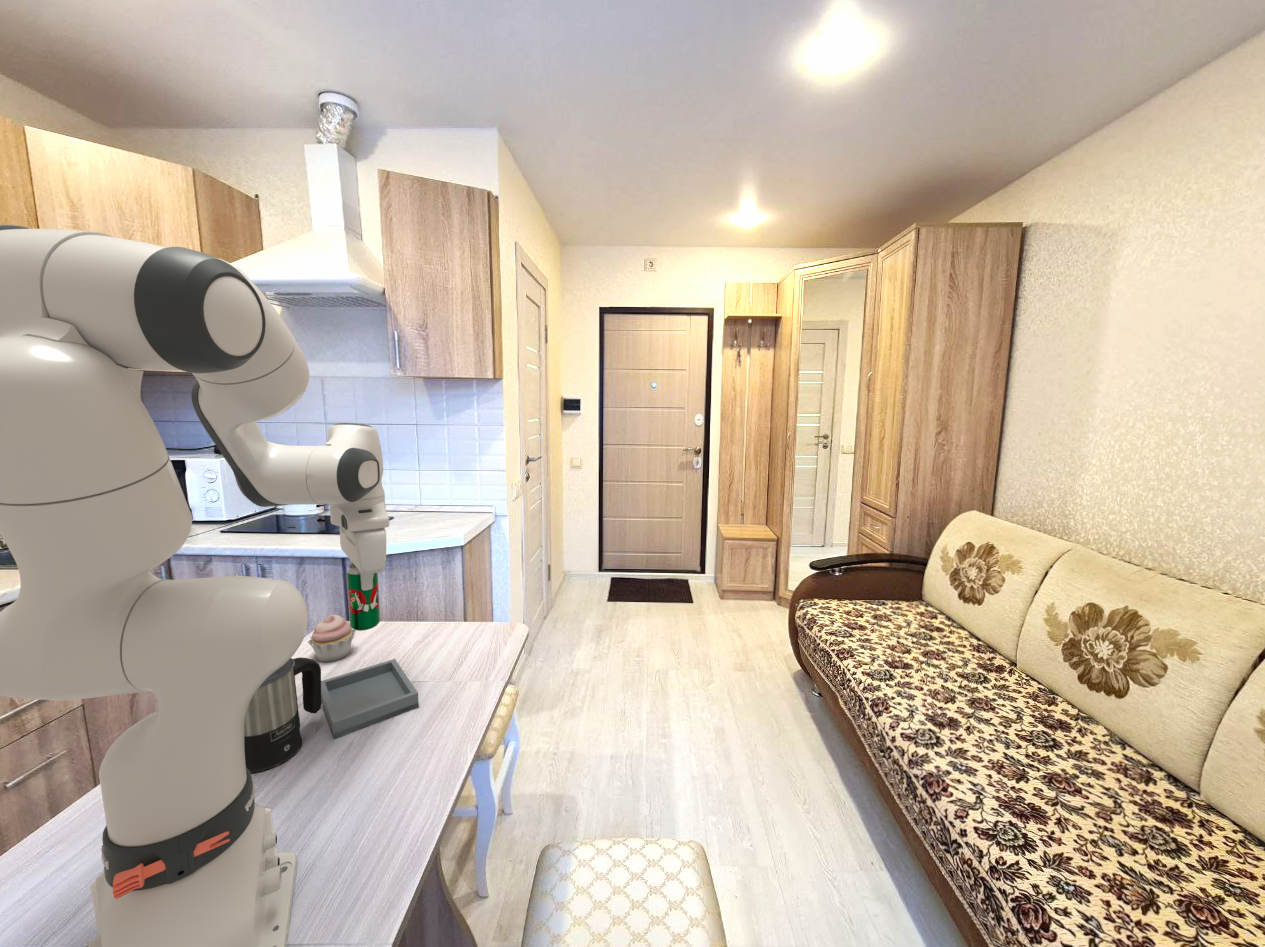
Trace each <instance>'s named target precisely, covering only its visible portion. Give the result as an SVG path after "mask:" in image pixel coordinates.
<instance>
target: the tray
mask: <svg viewBox="0 0 1265 947" xmlns="http://www.w3.org/2000/svg"><path fill="white" fill-rule="evenodd" d="M419 703H420V702H419V692H418V690H417V689H416V688H415V686H414V685H413V683H412V682H411V680H410V678H408V676H407V674H406V673H405V672H404V670H403V669H402V667H401V666H400V664H399V663H398V660H396V658H393V659H389V660H386V661H383V662H380V663H377V664H373V665H369V666H367V667H362V668H360V669H357V670H353V671H350V672H347V673H343V674H340V675H337V676H334V677H330V678H327V679H326V678H325V679H324V680H321V707H322V709H323V712H324V714H325V717H326V721H327V724H328V725H329V729H330V732H331V736H332V737H333V740H336V739H338V738H342V737H343V736H346V735H349V734H351V733H355V732H357V731H360V730H363V729H365V728H368V727H370V726H373V725H376V724H378V723H382V722H383V721H386V720H388V719H392V718H394V717H396V716H400V715H402V714H405V713H408V712H411V711H412V709H413V710H416V709H419V708H420V704H419ZM418 707H419V708H418ZM410 710H411V711H410Z"/></svg>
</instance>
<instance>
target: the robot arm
mask: <svg viewBox="0 0 1265 947" xmlns="http://www.w3.org/2000/svg"><path fill="white" fill-rule="evenodd" d="M143 370H146V371H147V370H148V371H149V370H150V371H182V372H185V373H189V374H190V373H191V374H192V376H193V377H195V379H196V381H194V384H193V386H192V391H191V402H192V406H193V410H194V411H195V414H196V416H197V418H198V419H199V422H200V423H201V425H202V426H203V428H204V429H205V431H206V432H207V434H208V436H209V437H210V438H211V441H212V442H213V443H214V445H215V446H216V448H217V449H218V450H219V452H220V454H221V455H222V456H223V458H224V459H225V461H226V463H227V464H228V466H229V467H230V469H231V470H232V472H233V475H234V478H235V482H236V485H237V486H238V489H239V490H240V492H241V494H242V495H243V496H244V497H245V498H246V499H247V500H248V501H250V502H251V503H253V504H254V505H256V506H258V507H260V508H261V507H262V508H270V507H278V506H279V507H280V506H289V505H296V506H297V505H329V511H330V512H329V514H330V524H332V525H334V526H337V527H339V528H338V529H339V530H338V531H339V542H340V543H339V544H340V548H341V550H342V551H343V553H344V554H345V555H346V556H347V558H348V559H349V561H350V565H351V564H354V565H355V566H356V567H357V569H358V570H359V571H360V576H361V579H360V587H361V589H362V590H364V591H365V590H370V589H372V588H373V576H374V573H378V574H379V573H382V572H383V571H384V570H385V568H386V563H387V531H386V528H390V527H389V526H390V518H389V514H388V512H387V508H386V507H387V506H386V499H385V497H386V495H385V490H384V487H383V484H382V482H383V481H382V478H383V475H384V463H383V462H384V461H383V460H384V459H383V451H382V446H381V440H380V436H379V432H378V430H377V429H376V428H375V427H373V426H371V425H369V424H364V423H354V422H351V423H350V422H347V423H346V422H341V423H334V424H332V425H329V428H328V431H327V440H326V441H327V442H325V443H323V444H322V445H303V444H302V445H292V444H291V445H288V444H282V443H281V444H280V443H275V442H271V441H269V440H267V439H266V438H265V436H264V435H263V432H262V430H261V429H260V427H259V424H258V423H257V422H260V421H266V420H269V419H272V418H275V417H277V416H279V415H281V414H283V413H285V412H287V411H288V410H289V409H290V408H292V407H293V406H294V405H296V403H298V402H299V400H300V399H301V398H302V396H303V395H304V394H305V392H306V390H307V388H308V384H309V381H310V369H309V365H308V363H307V359H306V357H305V354H304V353H303V350H302V349H301V347H300V345H299V343H298V342H297V341H296V339H295V337H294V335H293V334H292V332H291V331H290V329H289V328H288V326H287V324H286V323H285V321H284V319H283V318H282V316H281V315H280V314H279V313H278V311H277V309H276V308H275V307H274V306H273V305H272V303H271V302H270V301H269V299H268V298H267V297H266V296H265V295H264V293H263V292H262V291H261V290H260V289H259V287H258V286H257V285H256V284H255V283H254V282H253V280H251V279H250V278H249V277H248V275H246V274H245V273H244V271H242V270H241V269H240V268H238V267H237V266H235V265H234V264H233V263H231V262H229V261H226V260H224V259H222V258H218V257H215V256H213V255H210V254H207V253H204V252H201V251H197V250H194V249H190V248H188V247H187V248H186V247H182V246H169V247H168V246H167V247H166V246H162V245H158V244H154V243H149V242H145V241H138V240H134V239H133V240H132V239H129V238H128V239H127V238H122V237H115V236H112V235H109V234H106V233H102V232H95V231H86V230H76V229H64V228H63V229H59V228H29V227H26V226H21V225H16V224H0V535H1V536H2V539H3V540H4V542H5V545H6V546H7V548H8V550H9V552H10V554H11V557H12V558H13V559H14V562H15V564H16V566H17V571H18V573H19V577H20V587H19V588H20V589H19V593H18V595H17V598H16V599H15V601H13V602H12V603H11V604H9V605H7V606H6V607H5V608H4V609H2V610H1V611H0V697H2V698H9V699H10V698H13V699H25V700H40V701H43V700H44V701H66V702H67V701H75V700H83V699H84V700H85V699H92V698H100V697H101V698H102V697H110V696H118V695H119V696H120V695H126V694H127V695H128V694H136V693H145V692H146V693H154V695H155V696H156V698H157V701H158V710H156V711H155V712H154V711H153V712H152V713H150V714H149V715H146V716H145V717H143V718H142V719H141V720H139V721H137V722H136V723H134V724H133V725H132V726H130V727H128V729H126V730H125V731H124V732H122V733H121V734H120V735H119V736H118V737H116V739H115V741H113V743H112V744H111V745H110V747H109V748H108V750H107V751H106V754H105V755H104V758H103V759H102V762H101V764H100V767H99V771H98V777H99V783H100V784H99V785H100V790H101V797H102V803H103V804H102V805H103V809H104V810H103V811H104V818H105V826H104V829H103V831H102V840H101V841H102V845H101V849H100V850H101V861H102V865H103V871H102V872H101V873H100V874H99V875H98V876H97V877H96V879H95V880H94V881H93V882H92V883H91V884H90V892H91V898H92V904H93V909H94V910H93V911H94V916H95V923H96V928H97V934H98V935H97V937H95V938H94V939H92V940H90V941H89V942H87V946H86V947H287V944H288V943H287V942H288V936H289V929H290V919H291V914H292V906H293V898H294V891H295V890H294V889H295V883H296V877H297V876H296V875H297V868H298V859H297V856H296V855H297V854H296V853H295V852H292V851H279V852H277V848H276V847H277V846H278V834H277V833H276V832H274V825H273V818H272V817H273V816H272V815H273V814H272V809H271V808H268V807H267V806H263V805H260V804H259V803H256V802H255V790H256V789H255V783H254V780H253V777H252V773H250V771H249V770H248V768H246V763H245V747H244V724H245V716H246V712H247V708H248V706H249V703H250V701H251V699H252V697H253V695H254V693H255V692H256V691H257V689H258V688H259V687H260V685H261V684H262V683H263V682H264V681H265V680H266V679H267V678H268V677H269V676H270V675H271V674H272V673H274V672H275V671H276V670H278V669H279V668H280V667H282V666H283V665H284V664H285V663H286V662H287V661H288V660H289V659H290V658H293V656H294V655H295V654H296V652H297V651H298V650H299V648H300V646H302V645H301V644H302V642H303V640H304V639H305V637H306V634H307V629H308V625H309V612H308V605H307V604H306V603H307V602H306V601H305V599H304V596H303V595H302V593H301V592H300V591H299V590H298V588H297V587H296V586H295V585H294V584H292V583H291V582H290V581H287V580H283V579H275V578H269V577H268V578H267V577H260V576H259V577H258V576H248V575H229V576H227V575H225V576H213V577H212V576H211V577H196V578H194V577H193V578H182V579H181V578H179V579H167V578H166V579H163V578H159V577H157V576H156V575H154V574H153V573H152V572H151V570H153V569H155V568H156V567H158V566H160V565H161V564H163V563H164V562H166V561H167V560H169V559H170V558H171V557H173V556H174V555H175V554H176V553H178V552H179V550H180V549H181V548H182V547H183V546H184V544H185V543H186V542H187V540H188V538H189V537H190V536H189V535H190V533H191V530H192V523H193V515H192V512H191V509H190V507H189V505H188V502H187V500H186V497H185V494H184V491H183V489H182V487H181V486H182V485H181V484H180V481H179V479H178V476H177V473H176V471H175V469H174V466H173V463H172V460H171V458H170V455H169V452H168V450H167V448H166V446H165V443H164V440H163V439H162V436H161V434H160V433H159V432H160V431H159V430H158V429H157V426H156V424H155V422H154V420H153V418H152V417H151V415H150V413H149V411H148V409H147V408H146V406H145V405H144V403H143V401H142V397H141V396H142V393H141V389H142V380H143V376H144V371H143Z"/></svg>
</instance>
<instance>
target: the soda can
mask: <svg viewBox="0 0 1265 947" xmlns="http://www.w3.org/2000/svg"><path fill="white" fill-rule="evenodd" d="M360 579H361V576H360V571H359V570H358V569H357V567H356V566H355V565H354V564H351V563H350V564H349V565H348V569H347V571H346V584H347V587H346V588H347V597H348V598H347V599H348V615H349V616H348V617H349V623H350V627H351V628H352V629H353V630H356V631H358V632H359V631H361V632H362V631H367V630H371V629H374V628H375V627H377V626H378V624H380V622H381V609H380V606H381V605H380V590H379V589H380V586H379V572H378V573H374V576H373V588H372V589H370V590H365V591H364V590H362V589H361V587H360Z"/></svg>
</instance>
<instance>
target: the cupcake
mask: <svg viewBox="0 0 1265 947" xmlns="http://www.w3.org/2000/svg"><path fill="white" fill-rule="evenodd" d="M356 631H357V630H354V629H352V628H351V627H350V621H348V620H345V618H343V617H342V616H341V615H338V614H329V615H328V616H326V617H325V618H324V620H323V621H320V622H318V623H317V624H316V625H315V627H314V630H313V632H312V634H311V636H310V637H309V639H308V641H307V644H309V645H310V647H311V648H312V649H313V651H314V653H315V656H316V658H317V660H318V661H320V662H322V663H329V662H334V661H339V660H341V659H343V658H345V657H347V656H348V655H349V653H350V652H351V649H352V643H353V642H352V641H353V639H354V637H355V634H356Z"/></svg>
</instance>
